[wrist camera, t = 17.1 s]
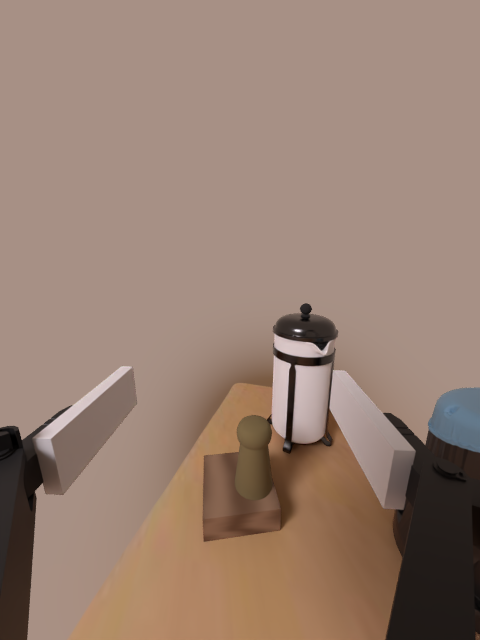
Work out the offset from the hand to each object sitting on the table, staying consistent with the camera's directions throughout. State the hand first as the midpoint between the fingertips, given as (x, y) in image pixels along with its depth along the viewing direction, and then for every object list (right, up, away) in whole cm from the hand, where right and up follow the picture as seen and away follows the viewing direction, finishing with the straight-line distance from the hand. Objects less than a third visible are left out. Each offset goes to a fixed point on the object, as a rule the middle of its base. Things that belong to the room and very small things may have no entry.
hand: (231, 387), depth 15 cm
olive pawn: (+3, -22, +22) cm, 31 cm away
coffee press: (+13, -21, +40) cm, 47 cm away
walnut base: (0, -25, +23) cm, 34 cm away
